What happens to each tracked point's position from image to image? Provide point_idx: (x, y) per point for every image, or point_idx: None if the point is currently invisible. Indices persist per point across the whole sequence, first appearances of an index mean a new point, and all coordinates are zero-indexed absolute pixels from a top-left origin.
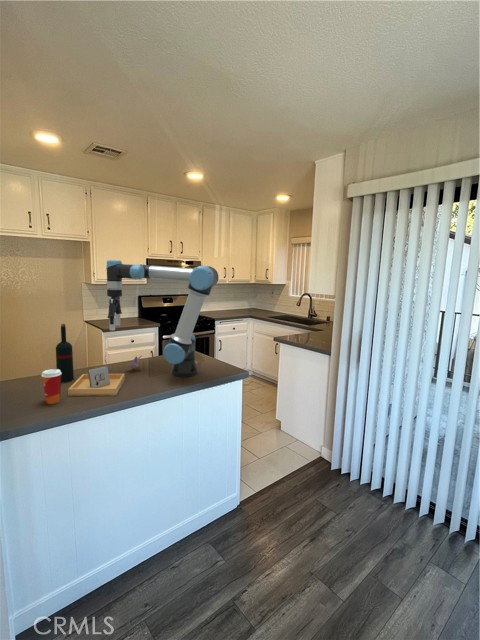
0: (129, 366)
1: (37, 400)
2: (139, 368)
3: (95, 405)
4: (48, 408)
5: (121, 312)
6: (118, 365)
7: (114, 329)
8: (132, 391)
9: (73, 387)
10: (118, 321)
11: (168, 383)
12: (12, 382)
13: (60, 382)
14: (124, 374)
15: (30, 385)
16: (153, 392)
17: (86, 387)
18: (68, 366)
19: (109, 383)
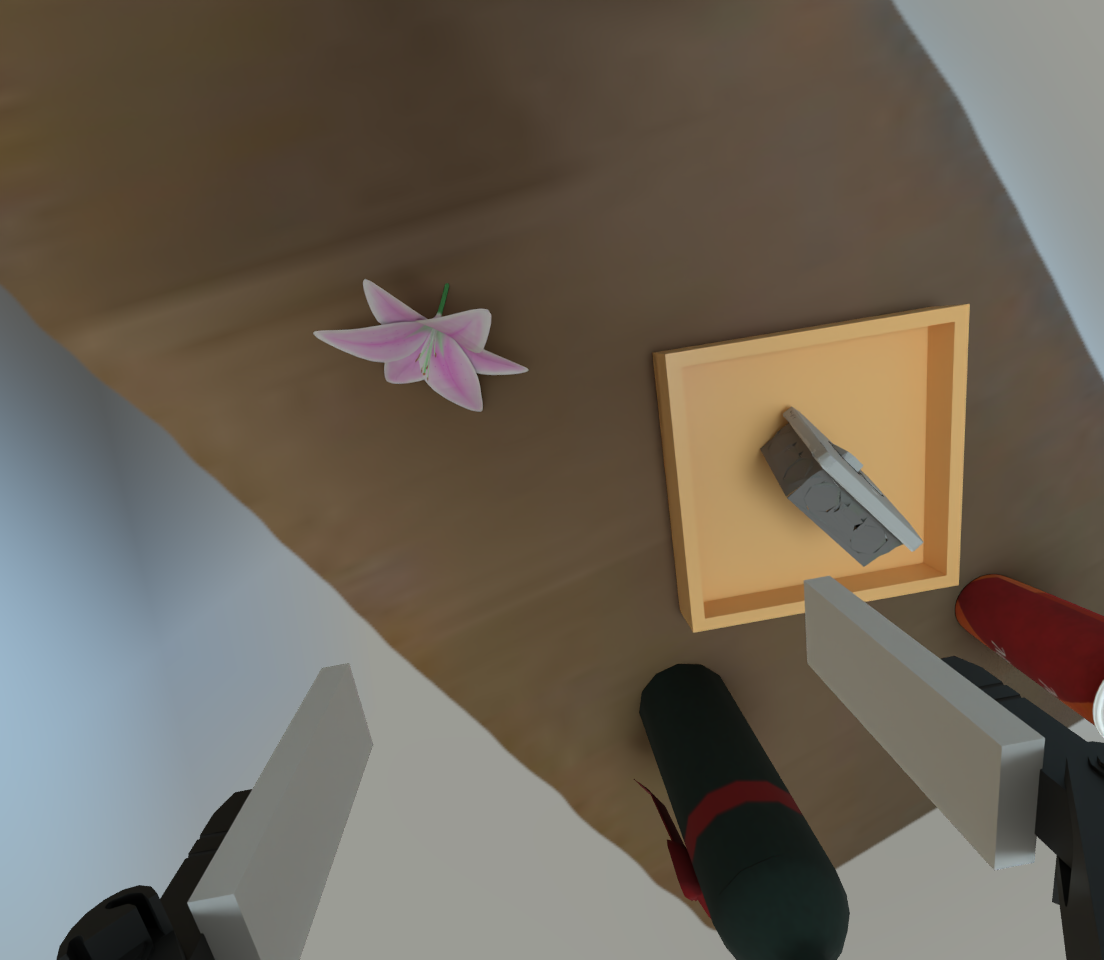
0: (505, 372)
1: None
2: (445, 301)
3: (1058, 370)
4: (1063, 580)
5: (96, 942)
6: (337, 520)
7: (840, 589)
8: (864, 219)
9: (904, 578)
10: (331, 752)
11: None
12: None
13: (1087, 620)
14: (672, 352)
15: None
16: (886, 48)
17: None
18: (750, 739)
19: (795, 409)
